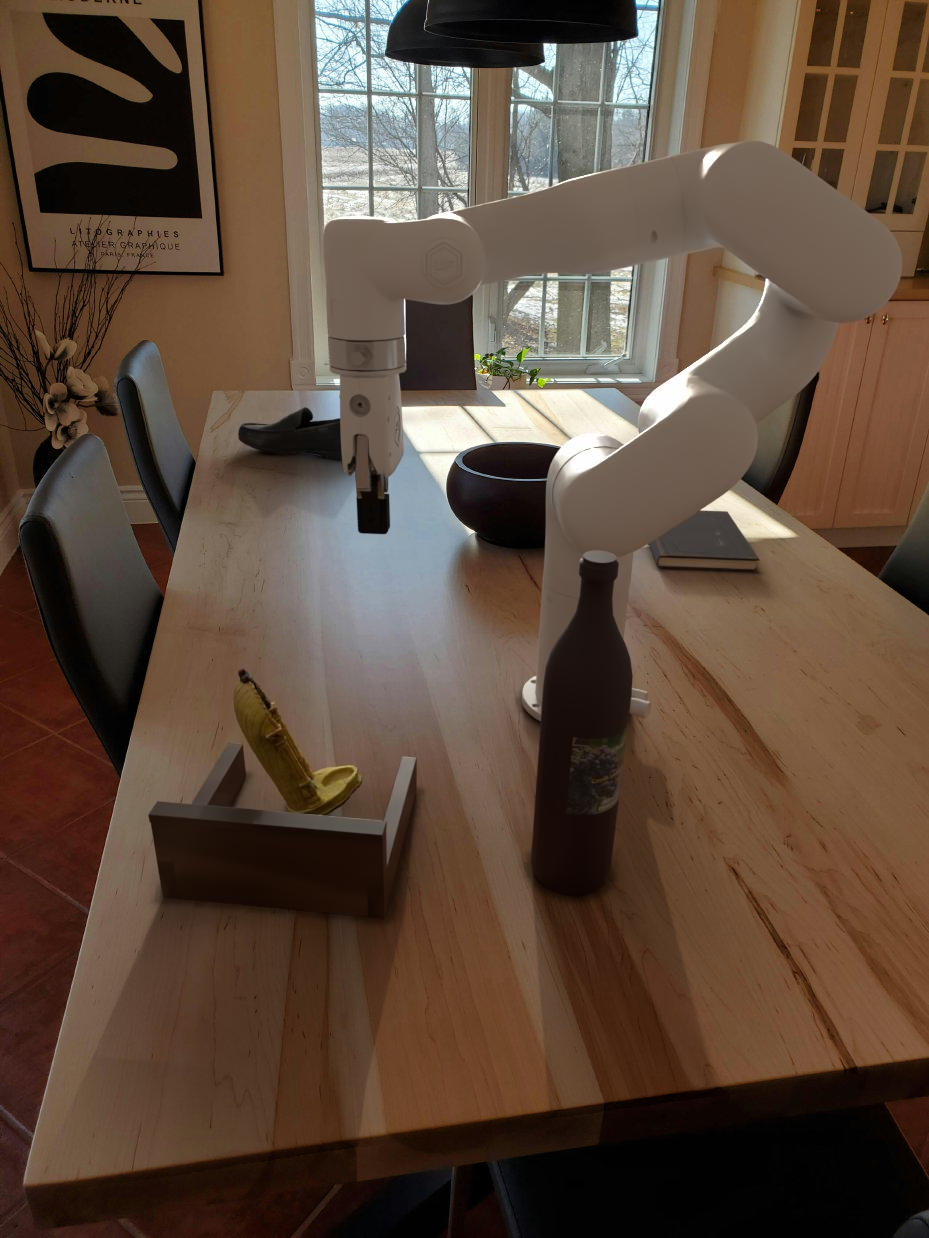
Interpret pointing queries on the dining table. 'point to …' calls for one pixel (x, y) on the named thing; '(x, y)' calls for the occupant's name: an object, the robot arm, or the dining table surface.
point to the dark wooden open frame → (279, 848)
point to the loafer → (295, 435)
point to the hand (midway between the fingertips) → (374, 530)
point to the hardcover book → (705, 545)
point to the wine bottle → (582, 739)
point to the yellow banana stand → (289, 755)
